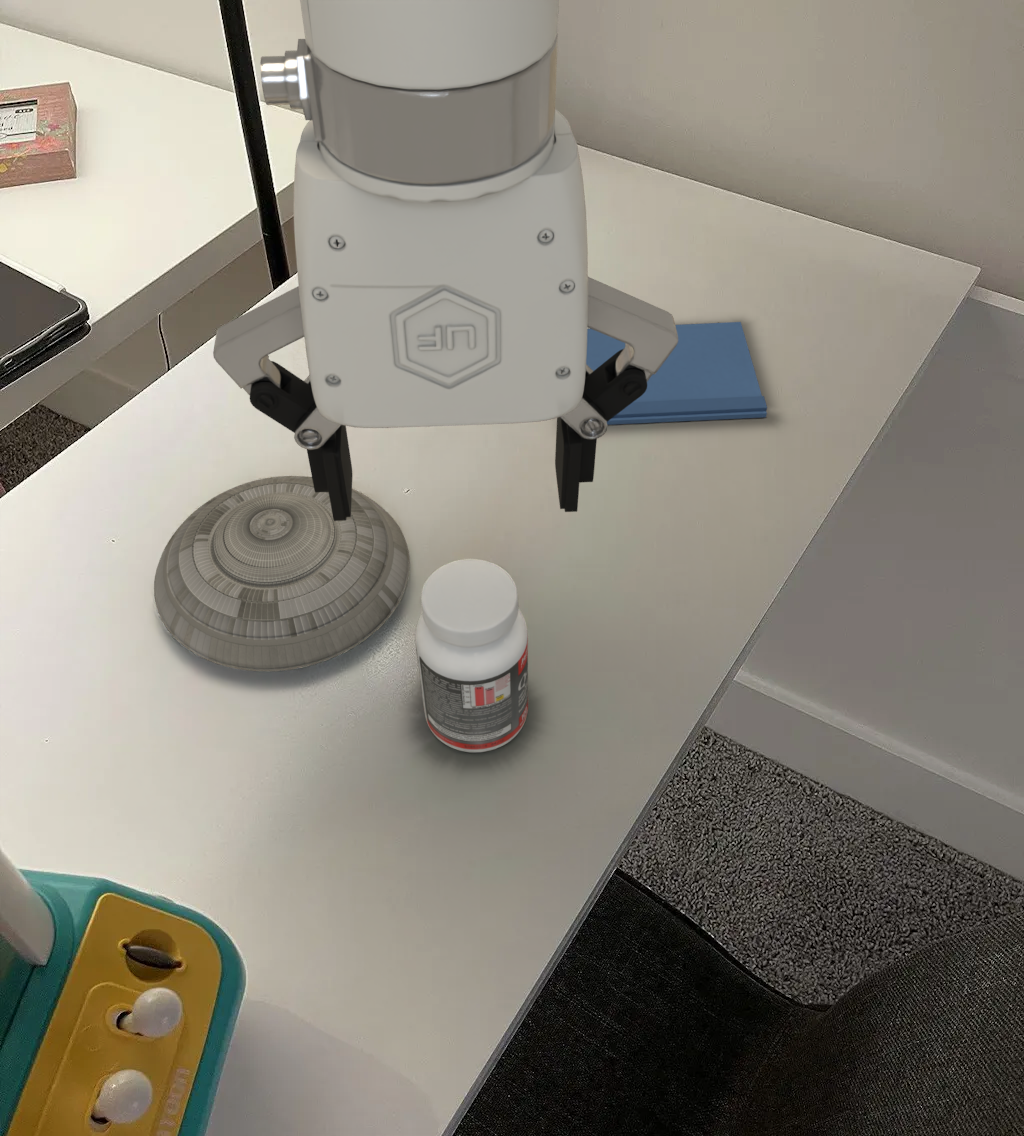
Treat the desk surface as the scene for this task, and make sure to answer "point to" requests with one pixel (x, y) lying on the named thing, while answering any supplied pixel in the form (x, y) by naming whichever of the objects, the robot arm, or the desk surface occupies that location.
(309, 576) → the flying saucer
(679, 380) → the cloth
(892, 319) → the desk surface
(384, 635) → the desk surface
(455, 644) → the pill bottle
